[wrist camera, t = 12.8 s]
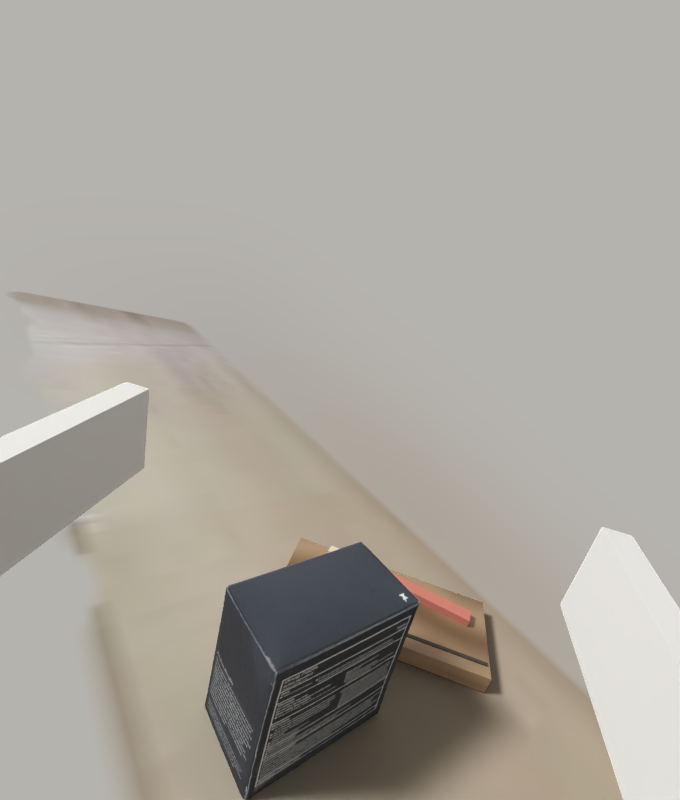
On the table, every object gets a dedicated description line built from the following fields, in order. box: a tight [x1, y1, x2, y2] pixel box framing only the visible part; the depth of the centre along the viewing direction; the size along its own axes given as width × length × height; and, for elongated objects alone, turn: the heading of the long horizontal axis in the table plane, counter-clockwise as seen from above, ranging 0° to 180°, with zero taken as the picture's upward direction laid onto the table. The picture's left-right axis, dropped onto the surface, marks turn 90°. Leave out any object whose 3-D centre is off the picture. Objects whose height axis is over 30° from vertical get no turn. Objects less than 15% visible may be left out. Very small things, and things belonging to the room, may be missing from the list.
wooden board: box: [288, 538, 491, 693], centre depth 39 cm, size 8×18×2 cm, turn 77°
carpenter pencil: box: [328, 546, 471, 627], centre depth 41 cm, size 14×1×1 cm, turn 68°
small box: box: [205, 542, 420, 799], centre depth 28 cm, size 11×6×10 cm, turn 127°
